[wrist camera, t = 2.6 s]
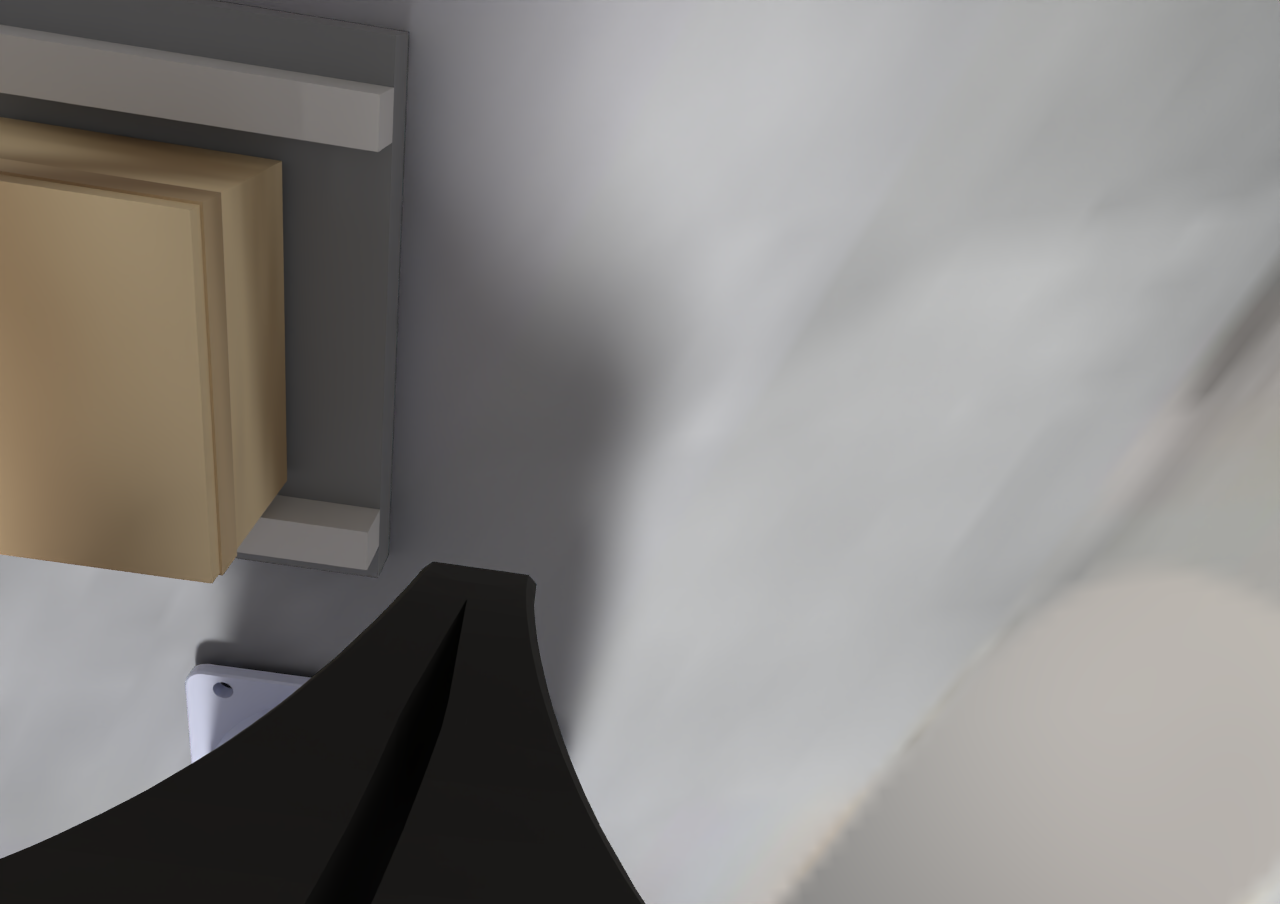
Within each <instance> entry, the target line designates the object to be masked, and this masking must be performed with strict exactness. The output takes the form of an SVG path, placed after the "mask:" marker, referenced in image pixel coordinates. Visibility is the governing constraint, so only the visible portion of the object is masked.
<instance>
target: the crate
mask: <svg viewBox="0 0 1280 904" xmlns="http://www.w3.org/2000/svg"><path fill="white" fill-rule="evenodd" d="M286 481H287V441H286V380H285V319H284V257H283V196H282V161H279V160H273V159H266V158H260V157H253V156H247V155H241V154H234V153H228V152H221V151H215V150H209V149H202V148H196V147H189V146H183V145H177V144H170V143H164V142H157V141H151V140H145V139H138V138H132V137H126V136H119V135H113V134H106V133H100V132H94V131H87V130H81V129H74V128H68V127H62V126H55V125H49V124H42V123H36V122H30V121H23V120H17V119H10V118H4V117H0V554H2V555H9V556H17V557H24V558H31V559H38V560H46V561H53V562H60V563H67V564H75V565H82V566H89V567H96V568H104V569H111V570H118V571H125V572H132V573H140V574H147V575H154V576H161V577H169V578H176V579H183V580H190V581H198V582H205V583H213V582H214V580H215V579H216V577H217V576H218V575H223V574H224V573H225V571H226V570H227V569H228V567H229V566H230V565H231V563H232V562H233V560H234V559H235V558H236V556H237V549H238V547H239V546H240V545H241V543H242V542H243V540H244V539H245V538H246V536H247V535H248V534H249V532H250V531H251V529H252V528H253V527H254V525H255V524H256V523H257V521H258V520H259V518H260V517H261V516H262V514H263V513H264V512H265V510H266V509H267V507H268V506H269V505H270V503H271V502H272V501H273V499H274V498H275V496H276V495H277V494H278V492H279V491H280V490H281V488H282V487H283V486H284V484H285V483H286Z"/></svg>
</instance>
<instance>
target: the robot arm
mask: <svg viewBox="0 0 1280 904" xmlns="http://www.w3.org/2000/svg"><path fill="white" fill-rule="evenodd" d="M535 591H536V583H535V582H534V581H533V580H532V578H531V577H530V576H529V575H524V574H517V573H510V572H503V571H496V570H489V569H481V568H474V567H467V566H460V565H453V564H446V563H439V562H432V563H431V564H429V565H428V566H426V567H425V568H423V569H422V571H421V572H420V573H419V574H418V575H417V576H416V578H415V579H414V580H413V581H412V582H411V583H410V584H409V585H408V587H407V588H406V589H405V590H404V591H403V592H402V593H401V594H400V595H399V596H398V597H397V598H396V599H395V600H394V602H393V603H392V604H391V605H390V606H389V607H388V608H387V609H386V610H385V611H384V612H383V613H382V614H381V615H380V616H379V617H378V618H377V619H376V620H375V621H374V622H373V623H372V624H371V625H370V626H369V627H368V628H366V629H365V630H364V631H363V632H362V633H361V634H360V635H359V636H358V637H357V638H356V639H355V640H354V641H353V642H352V643H351V644H349V645H348V646H347V647H346V648H345V649H344V650H343V651H342V652H341V653H340V654H339V655H338V656H337V657H335V658H334V659H333V660H332V661H331V662H330V663H328V664H327V665H326V666H325V667H324V668H322V669H321V670H320V671H319V672H318V673H316V674H315V675H314V676H313V677H312V678H310V677H302V676H295V675H287V674H280V673H272V672H265V671H258V670H250V669H243V668H235V667H228V666H220V665H213V664H200V665H197V666H195V667H194V668H193V669H192V670H191V672H190V673H189V675H188V676H187V678H186V682H185V689H186V702H187V714H188V727H189V740H190V752H191V764H190V765H189V766H187V767H186V768H184V769H182V770H180V771H179V772H177V773H175V774H174V775H172V776H170V777H169V778H167V779H165V780H163V781H162V782H160V783H158V784H157V785H155V786H153V787H152V788H150V789H148V790H146V791H144V792H142V793H141V794H139V795H137V796H135V797H133V798H131V799H129V800H127V801H125V802H123V803H121V804H119V805H117V806H115V807H113V808H112V809H110V810H108V811H106V812H104V813H102V814H100V815H98V816H96V817H93V818H91V819H89V820H87V821H85V822H83V823H81V824H79V825H77V826H75V827H72V828H70V829H68V830H66V831H64V832H62V833H60V834H58V835H55V836H53V837H51V838H49V839H47V840H44V841H42V842H40V843H38V844H35V845H33V846H31V847H28V848H26V849H24V850H21V851H19V852H16V853H14V854H11V855H9V856H6V857H4V858H1V859H0V904H645V902H644V901H643V899H642V898H641V896H640V895H639V893H638V892H637V890H636V889H635V887H634V885H633V884H632V882H631V880H630V878H629V877H628V875H627V873H626V871H625V869H624V868H623V866H622V864H621V862H620V861H619V859H618V857H617V855H616V854H615V852H614V850H613V848H612V847H611V845H610V843H609V841H608V840H607V838H606V836H605V834H604V833H603V831H602V829H601V827H600V825H599V823H598V821H597V819H596V816H595V814H594V812H593V810H592V808H591V806H590V804H589V802H588V800H587V798H586V796H585V793H584V791H583V789H582V786H581V784H580V782H579V779H578V777H577V775H576V772H575V770H574V768H573V765H572V762H571V760H570V757H569V755H568V752H567V749H566V746H565V744H564V741H563V738H562V735H561V732H560V729H559V726H558V723H557V720H556V717H555V714H554V710H553V707H552V703H551V700H550V696H549V693H548V689H547V684H546V680H545V676H544V672H543V667H542V663H541V659H540V653H539V648H538V642H537V635H536V627H535V616H534V600H535ZM220 682H224V683H227V684H229V685H230V686H231V687H232V688H228V687H225V686H224V685H222V684H221V683H220Z"/></svg>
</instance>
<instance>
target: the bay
mask: <svg viewBox="0 0 1280 904" xmlns="http://www.w3.org/2000/svg"><path fill="white" fill-rule="evenodd" d="M408 41H409V32H406V31H400V30H394V29H388V28H381V27H375V26H369V25H363V24H357V23H351V22H345V21H338V20H332V19H326V18H320V17H314V16H308V15H302V14H295V13H289V12H283V11H277V10H271V9H265V8H259V7H253V6H246V5H240V4H234V3H228V2H222V1H216V0H0V117H4V118H10V119H17V120H23V121H30V122H36V123H42V124H49V125H55V126H62V127H68V128H74V129H81V130H87V131H94V132H100V133H106V134H113V135H119V136H126V137H132V138H138V139H145V140H151V141H157V142H164V143H170V144H177V145H183V146H189V147H196V148H202V149H209V150H215V151H221V152H228V153H234V154H241V155H247V156H253V157H260V158H266V159H273V160H279V161H282V196H283V257H284V319H285V380H286V441H287V481H286V483H285V484H284V486H283V487H282V488H281V490H280V491H279V492H278V494H277V495H276V496H275V498H274V499H273V501H272V502H271V503H270V505H269V506H268V507H267V509H266V510H265V512H264V513H263V514H262V516H261V517H260V518H259V520H258V521H257V523H256V524H255V525H254V527H253V528H252V529H251V531H250V532H249V534H248V535H247V536H246V538H245V539H244V540H243V542H242V543H241V545H240V546H239V547H238V549H237V556H236V558H238V559H245V560H252V561H260V562H267V563H274V564H281V565H288V566H295V567H303V568H310V569H317V570H324V571H331V572H339V573H346V574H353V575H360V576H367V577H374V578H378V576H379V574H380V572H381V570H382V568H383V566H384V563H385V561H386V559H387V557H388V555H389V530H390V504H391V478H392V453H393V427H394V401H395V375H396V350H397V324H398V298H399V273H400V247H401V221H402V196H403V170H404V144H405V118H406V93H407V67H408Z"/></svg>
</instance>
